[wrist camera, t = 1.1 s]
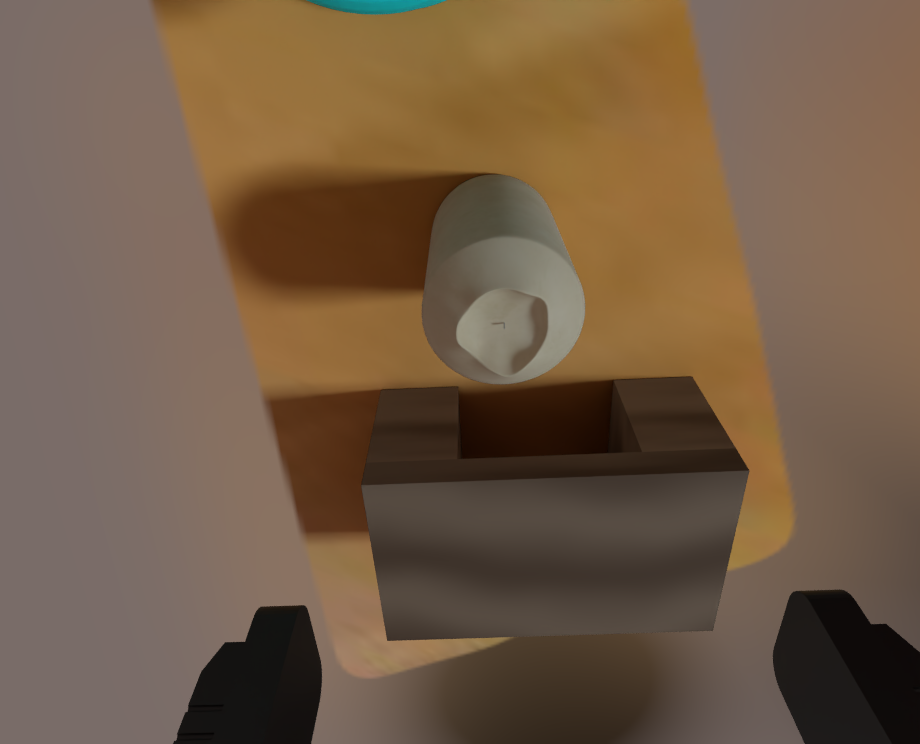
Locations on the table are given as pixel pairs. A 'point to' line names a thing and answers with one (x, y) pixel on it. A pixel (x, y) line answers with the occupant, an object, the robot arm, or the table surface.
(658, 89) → the table surface
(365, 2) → the turquoise spool
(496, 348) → the candle
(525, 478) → the bridge
